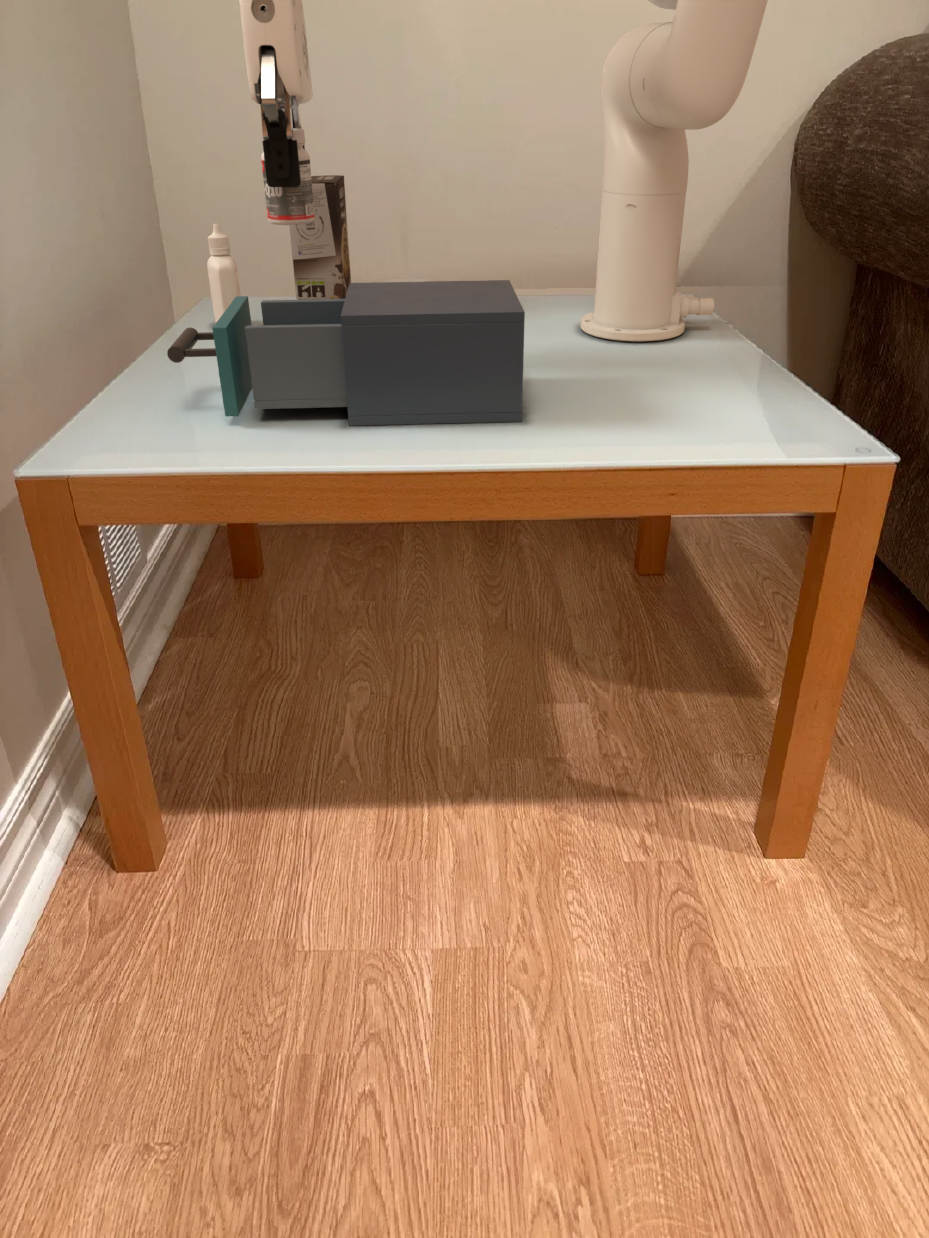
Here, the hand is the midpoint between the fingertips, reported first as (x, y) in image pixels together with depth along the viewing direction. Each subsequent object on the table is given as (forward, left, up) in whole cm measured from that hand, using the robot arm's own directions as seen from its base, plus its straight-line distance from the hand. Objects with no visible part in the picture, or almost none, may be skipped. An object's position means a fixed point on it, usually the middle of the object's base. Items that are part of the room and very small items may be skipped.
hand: (287, 181), depth 91 cm
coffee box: (0, -26, -18) cm, 32 cm away
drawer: (0, +14, -17) cm, 22 cm away
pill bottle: (0, 0, -4) cm, 4 cm away
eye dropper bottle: (+11, -18, -18) cm, 28 cm away
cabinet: (-14, +14, -18) cm, 27 cm away
